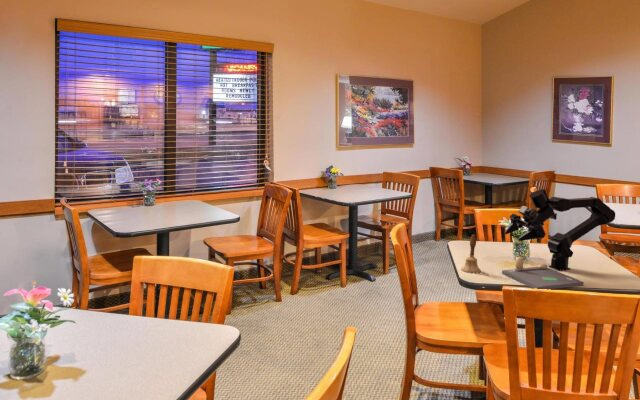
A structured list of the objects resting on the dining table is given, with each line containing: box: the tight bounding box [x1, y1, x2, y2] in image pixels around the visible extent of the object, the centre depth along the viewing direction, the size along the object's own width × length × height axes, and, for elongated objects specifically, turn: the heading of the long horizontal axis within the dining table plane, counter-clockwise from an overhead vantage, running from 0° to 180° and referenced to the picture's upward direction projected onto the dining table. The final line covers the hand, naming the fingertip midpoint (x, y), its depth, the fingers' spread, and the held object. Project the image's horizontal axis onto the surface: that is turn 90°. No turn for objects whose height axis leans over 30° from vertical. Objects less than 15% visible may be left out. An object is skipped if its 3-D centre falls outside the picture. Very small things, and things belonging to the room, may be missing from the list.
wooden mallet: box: [513, 256, 548, 270], centre depth 219 cm, size 16×4×5 cm, turn 107°
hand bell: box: [460, 234, 482, 274], centre depth 221 cm, size 8×8×16 cm
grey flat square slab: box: [501, 267, 585, 290], centre depth 211 cm, size 22×22×2 cm
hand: (511, 236), depth 219 cm, fingers open, 9 cm apart
